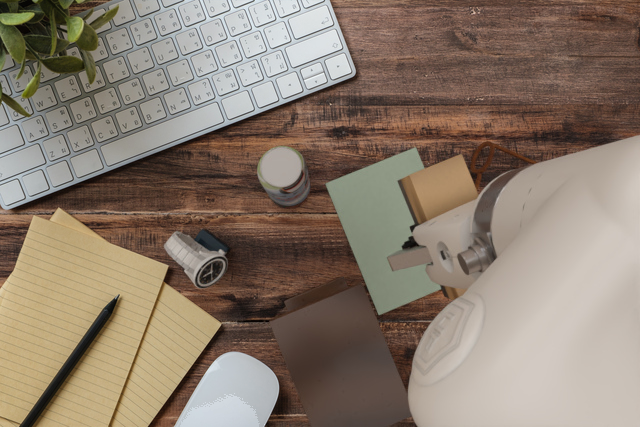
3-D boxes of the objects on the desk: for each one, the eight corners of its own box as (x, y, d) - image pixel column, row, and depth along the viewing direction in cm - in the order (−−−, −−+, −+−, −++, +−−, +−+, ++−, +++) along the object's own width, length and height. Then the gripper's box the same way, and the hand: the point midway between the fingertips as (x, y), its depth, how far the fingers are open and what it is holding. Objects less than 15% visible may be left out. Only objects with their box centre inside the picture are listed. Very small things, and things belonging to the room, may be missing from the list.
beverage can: (284, 217, 67) (280, 215, 55) (253, 175, 68) (243, 163, 56) (320, 191, 68) (324, 183, 56) (289, 149, 68) (287, 132, 56)
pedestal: (381, 360, 67) (415, 414, 47) (315, 388, 67) (322, 455, 47) (343, 267, 68) (362, 283, 48) (277, 294, 67) (268, 322, 47)
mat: (468, 277, 68) (469, 277, 68) (378, 314, 68) (378, 315, 67) (415, 147, 69) (416, 147, 68) (325, 183, 68) (325, 183, 68)
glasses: (476, 143, 69) (490, 136, 64) (560, 173, 69) (580, 169, 64) (447, 229, 68) (458, 229, 63) (532, 259, 69) (550, 262, 64)
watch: (217, 287, 67) (201, 299, 56) (171, 252, 67) (146, 256, 56) (242, 256, 67) (231, 261, 56) (197, 220, 67) (177, 218, 56)
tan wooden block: (491, 277, 46) (515, 282, 41) (444, 297, 46) (462, 305, 41) (444, 161, 46) (462, 153, 41) (396, 180, 46) (408, 175, 41)
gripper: (431, 348, 27) (378, 300, 45) (699, 234, 28) (541, 232, 46) (380, 224, 27) (348, 226, 45) (649, 114, 28) (511, 159, 46)
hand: (446, 229), depth 45 cm, fingers closed on tan wooden block, 5 cm apart
